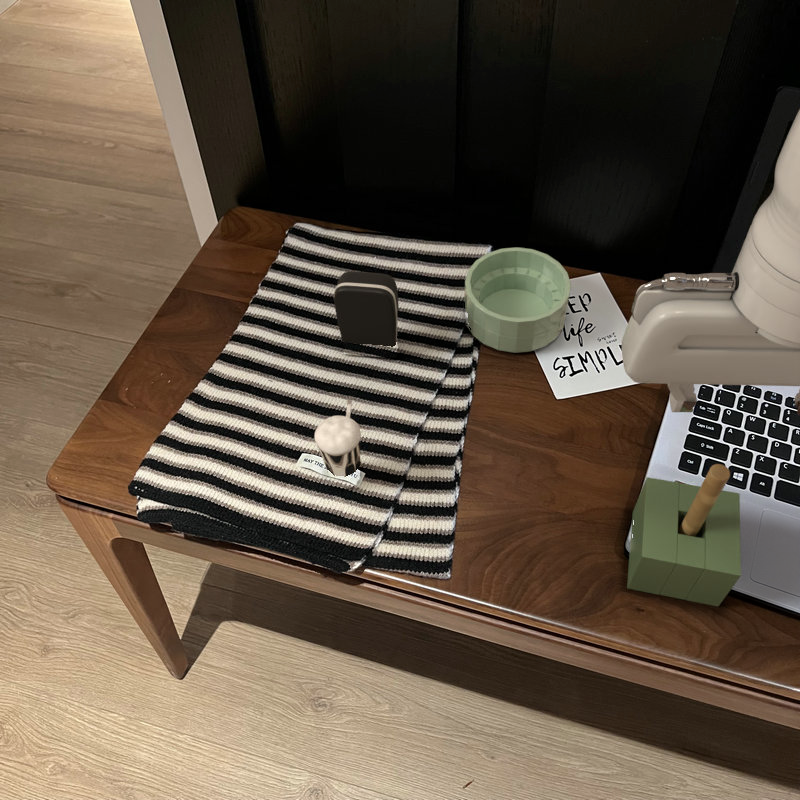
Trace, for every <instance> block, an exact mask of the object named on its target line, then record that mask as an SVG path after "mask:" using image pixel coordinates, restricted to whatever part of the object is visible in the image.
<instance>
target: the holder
mask: <svg viewBox="0 0 800 800" xmlns="http://www.w3.org/2000/svg"><path fill="white" fill-rule="evenodd" d="M700 487H701V485H700V486H699V485H693V484H687V483H683V482H678V481H673V480H672V481H671V480H665V479H660V478H654V477H649V476H648V477H646V479H645V480H644V483H643V485H642V488H641V490H640V493H639V496H638V497H637V501H636V503H635V505H634V508H633V511H632V515H631V528H630V540H629V541H630V542H629V554H628V555H629V556H628V571H627V582H626V583H627V585H626V588H627V589H629V590H633V591H639V592H643V593H649V594H653V595H658V596H664V597H667V598H674V599H679V600H682V601H683V600H684V601H688V602H693V603H698V604H703V605H708V606H713V607H719V606H720V605H721V604H722V603H723V601H724V600H725V598H727V596H728V594H729V593H730V591H731V590H732V589H733V587H734V586H736V585H735V584H736V583H738V581H739V579H740V578H741V576H742V556H741V555H742V554H741V552H742V551H741V548H742V547H741V502H740V498H741V497H740V496H741V495H740V493H739V492H734V491H729V490H724V489H723V490H722V491H721V493H720V495H719V497H718V498H717V500H716V502H715V504H714V505H713V507H712V509H711V511H710V513H709V514H708V516H707V518H706V520H705V521H704V523H703V525H702V527H701V528H700V530H699V532H698V534H697V535H696V537H693V536H688V535H683V534H678V529H679V528H680V526H681V524H682V522H683V520H684V518H685V516H686V514H687V512H688V510H689V508H690V506H691V504H692V502H693V501H694V499H695V497H696V495H697V493H698V491H699V489H700ZM633 520H634V525H633ZM632 534H633V538H632Z"/></svg>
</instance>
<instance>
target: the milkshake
mask: <svg viewBox="0 0 800 800" xmlns="http://www.w3.org/2000/svg"><path fill="white" fill-rule="evenodd" d="M352 403H353V401H352V400H351V399H347V401H346V411H345V415H332V416H329V417H327V418H325V419H324V420H322V422H320V423H319V424H318V426H317V427H316V429H315V431H314V442H315V444H316V447H317V448H318V451H319V454H320V456H321V458H322V460H323V463H324V465H325V469H326V471H327V470H329V471H330V472H331V473H332V474H333V475H334V476H335V475H336V476H344V477H346V476H348V475H350V474H352V473H354V472H356V470H357V469H358V468H359V466H360V465H361V466H362V463H361V461H362V460H361V439H362V438H361V437H362V436H361V435H362V431H361V428H360V426H359V423H357V422H356V421H355V420H354V419H353V418H352V417H351V414H352V413H351V412H352Z"/></svg>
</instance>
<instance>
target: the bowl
mask: <svg viewBox="0 0 800 800" xmlns="http://www.w3.org/2000/svg"><path fill="white" fill-rule="evenodd" d="M571 287H572V284H571V280H570V277H569V273H568V271H566V269H565V268H564V266H563V265H562V264H561V263H560V262H559V261H558V260H557V259H555V258H553V257H552V256H550V255H549V254H548V253H544V252H542V251H539V250H536V249H533V248H525V247H505V248H499V249H496V250H493V251H489V252H487V253H485V254H483V255H482V256H481V257H479V258H478V259H476V260H475V261H474V263H473V264H472V265H471V266H470V267H469V269H468V270H467V273H466V276H465V280H464V301H463V302H465V308H466V312H467V313H468V323H469V326H470V328H471V330H470V328H469V326H468V325H466V327H467V328H468V330H469V331H470V333H471V335H472V336H473V337H474V338H476V339H477V340H478V341H479V342H480V343H482V344H483V345H485V346H487V347H490V348H492V349H495V350H497V351H501V352H508V353H515V354H516V353H528V352H533V351H536V350H539V349H541V348H545V347H546V346H548V345H549V344H551V343H552V342H553V341H555V340H556V339H557V338H558V337H559V335H560V334H561V332H562V330H563V329H564V327H565V322H566V316H567V310H568V306H569V300H570V295H571Z"/></svg>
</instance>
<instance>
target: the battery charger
mask: <svg viewBox="0 0 800 800" xmlns="http://www.w3.org/2000/svg"><path fill="white" fill-rule="evenodd" d="M333 301H334V302H333V303H334V309H335V316H336V321H337V325H338V329H339V333H340V338H341V343H342V342H344V343H346V342H347V343H353V344H355V343H356V344H372V345H383V346H391V347H393V346H395V345H396V342H397V336H398V313H399V293H398V286H397V282H396V280H395V279H394V278H393V277H392V275H389V274H387V273H379V272H369V271H353V270H351V271H345V272H343V273H342V274H341V275H340V277H339V278H338V281H337V284H336V286H335V288H334V291H333ZM398 337H399V336H398Z"/></svg>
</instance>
